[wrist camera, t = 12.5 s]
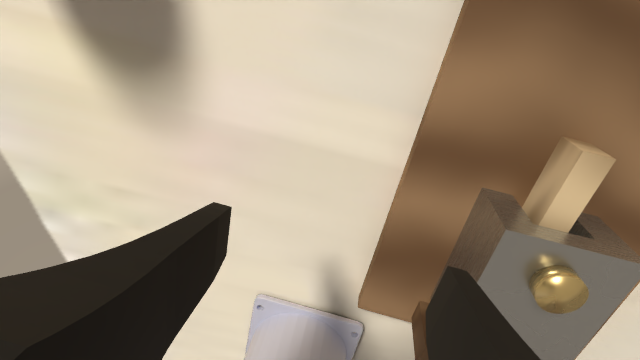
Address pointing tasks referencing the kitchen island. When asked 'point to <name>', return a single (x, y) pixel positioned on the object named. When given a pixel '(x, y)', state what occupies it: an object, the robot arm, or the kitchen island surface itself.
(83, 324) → the robot arm
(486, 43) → the board
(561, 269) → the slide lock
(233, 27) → the kitchen island surface
